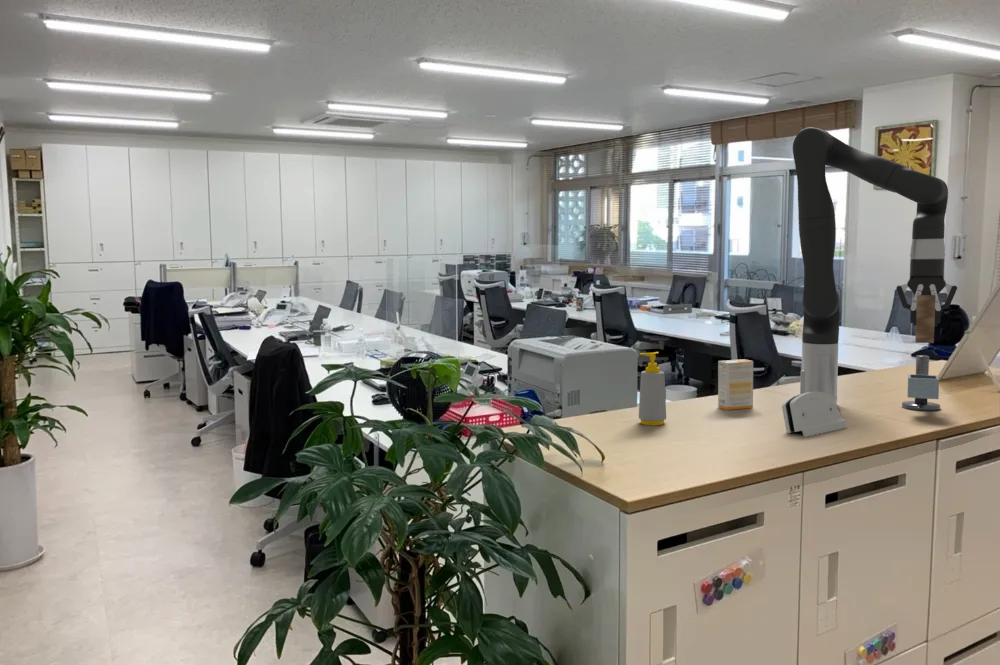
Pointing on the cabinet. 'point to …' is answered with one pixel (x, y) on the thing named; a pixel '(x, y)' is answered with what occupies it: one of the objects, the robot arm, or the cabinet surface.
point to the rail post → (925, 319)
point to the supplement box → (735, 384)
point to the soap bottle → (652, 394)
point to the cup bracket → (922, 387)
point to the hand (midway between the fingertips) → (924, 325)
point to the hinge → (812, 414)
